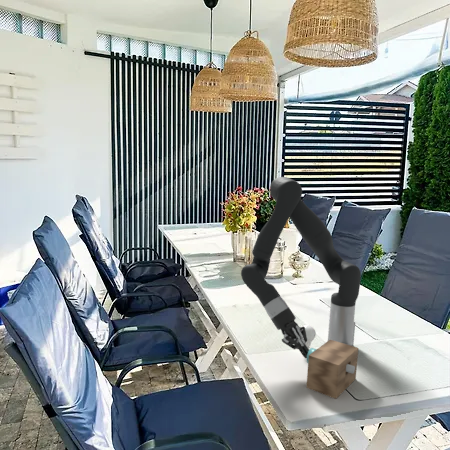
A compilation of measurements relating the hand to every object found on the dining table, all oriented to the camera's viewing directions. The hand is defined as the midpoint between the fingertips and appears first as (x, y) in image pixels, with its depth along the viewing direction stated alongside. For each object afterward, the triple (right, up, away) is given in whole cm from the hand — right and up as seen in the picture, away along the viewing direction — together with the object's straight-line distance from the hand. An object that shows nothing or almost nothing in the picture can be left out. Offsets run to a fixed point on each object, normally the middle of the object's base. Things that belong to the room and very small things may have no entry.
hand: (308, 356), depth 149 cm
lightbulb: (+2, -4, +17) cm, 17 cm away
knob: (+6, -3, -5) cm, 8 cm away
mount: (+6, -7, -4) cm, 10 cm away
